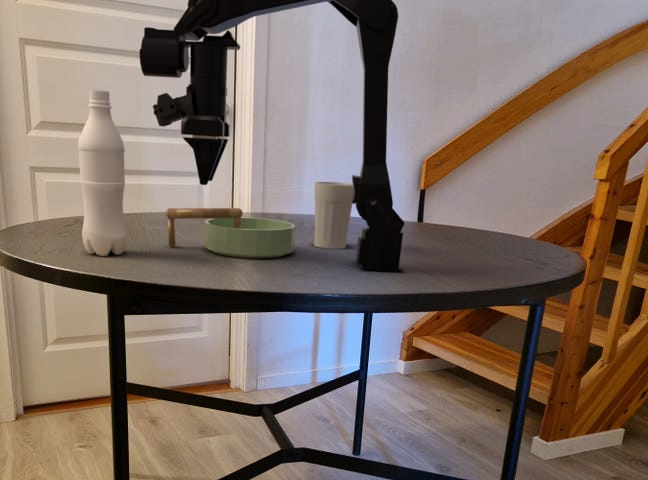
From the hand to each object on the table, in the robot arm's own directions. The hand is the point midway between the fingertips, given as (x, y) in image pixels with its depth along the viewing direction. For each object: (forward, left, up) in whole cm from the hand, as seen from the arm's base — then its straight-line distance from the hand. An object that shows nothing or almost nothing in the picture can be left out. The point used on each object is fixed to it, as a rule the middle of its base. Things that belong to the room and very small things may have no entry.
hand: (206, 182), depth 102 cm
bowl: (-8, -7, -12) cm, 16 cm away
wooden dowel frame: (-1, -7, -12) cm, 13 cm away
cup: (-24, -17, -12) cm, 31 cm away
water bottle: (+16, +2, -12) cm, 21 cm away
